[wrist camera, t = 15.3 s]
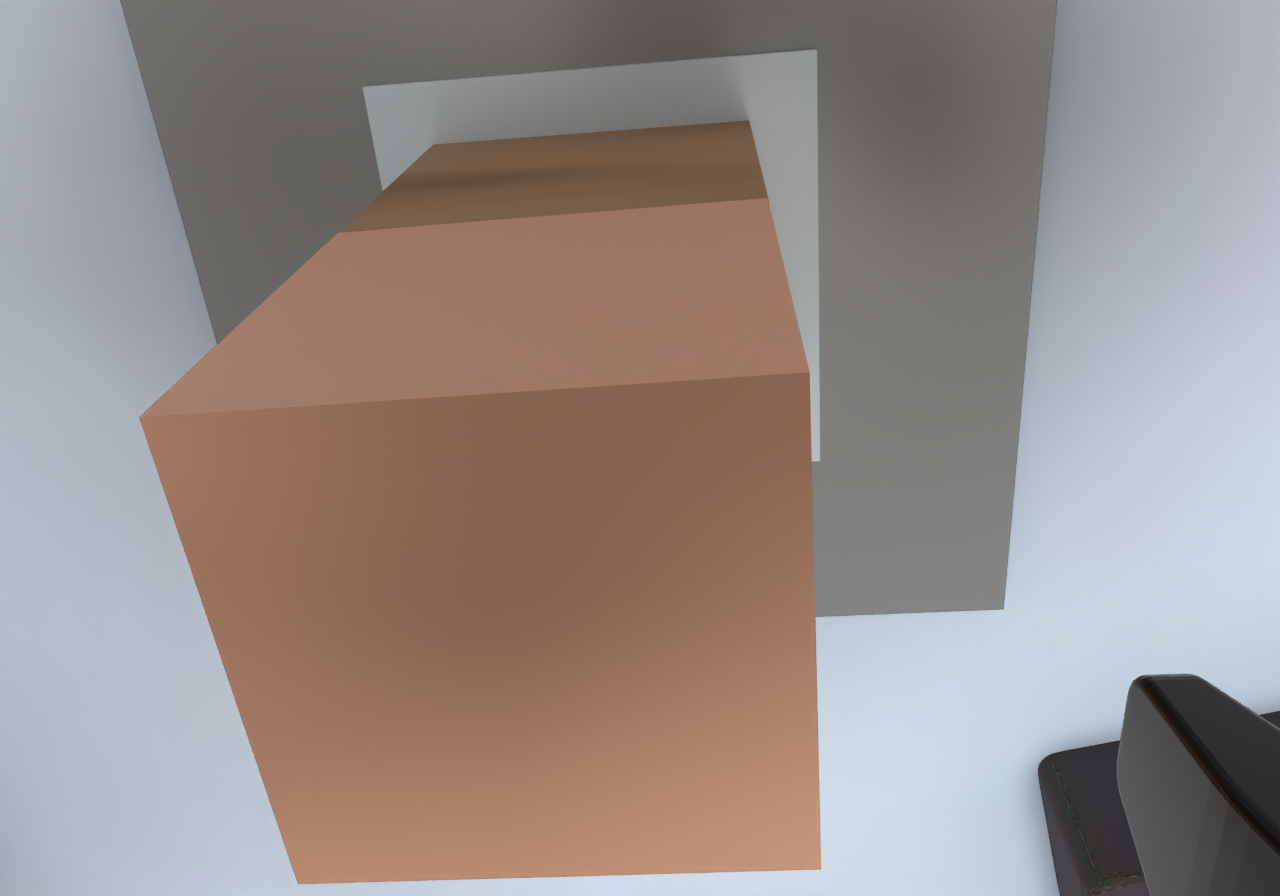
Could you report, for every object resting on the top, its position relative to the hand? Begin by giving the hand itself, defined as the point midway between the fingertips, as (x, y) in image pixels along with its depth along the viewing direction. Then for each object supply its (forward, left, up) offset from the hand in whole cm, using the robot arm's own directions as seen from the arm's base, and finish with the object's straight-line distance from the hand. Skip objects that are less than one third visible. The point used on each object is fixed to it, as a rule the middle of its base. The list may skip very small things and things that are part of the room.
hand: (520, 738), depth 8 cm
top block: (0, 0, -6) cm, 6 cm away
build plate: (0, 0, -11) cm, 11 cm away
